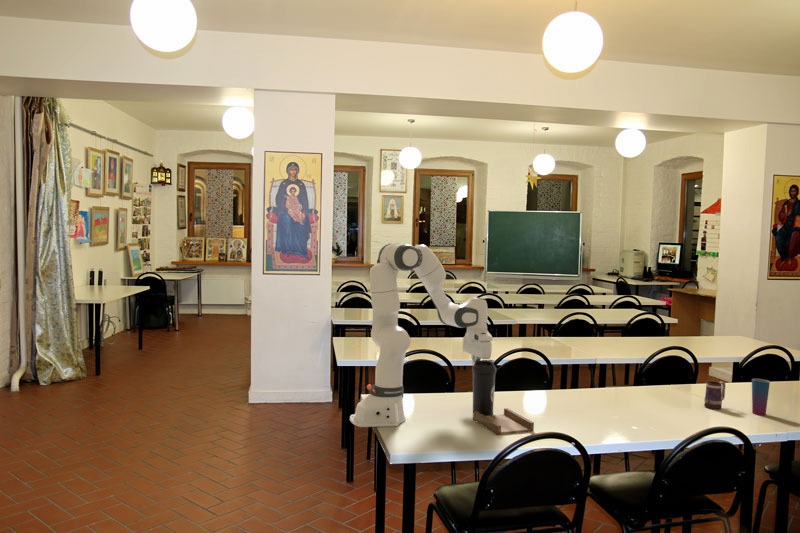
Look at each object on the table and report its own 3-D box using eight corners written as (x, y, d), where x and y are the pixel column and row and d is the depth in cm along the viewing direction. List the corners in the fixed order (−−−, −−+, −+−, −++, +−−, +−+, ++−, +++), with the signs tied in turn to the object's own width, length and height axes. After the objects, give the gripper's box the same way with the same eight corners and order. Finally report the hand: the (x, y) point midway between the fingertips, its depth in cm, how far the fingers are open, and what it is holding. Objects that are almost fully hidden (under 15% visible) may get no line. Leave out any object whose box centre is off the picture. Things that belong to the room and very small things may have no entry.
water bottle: (494, 417, 238) (496, 363, 237) (469, 415, 240) (471, 361, 239) (495, 411, 248) (497, 358, 247) (471, 409, 250) (473, 356, 249)
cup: (766, 412, 256) (768, 379, 256) (769, 416, 250) (771, 383, 250) (749, 410, 259) (750, 378, 259) (751, 414, 253) (752, 381, 252)
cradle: (497, 435, 216) (497, 426, 216) (472, 419, 235) (473, 411, 235) (533, 431, 222) (533, 422, 222) (507, 416, 241) (507, 408, 241)
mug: (713, 410, 258) (714, 384, 258) (700, 406, 265) (701, 380, 264) (730, 408, 262) (731, 382, 261) (717, 404, 268) (718, 379, 268)
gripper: (459, 330, 259) (458, 360, 259) (481, 338, 239) (480, 370, 240) (472, 330, 261) (471, 360, 261) (494, 337, 242) (493, 370, 242)
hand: (475, 365), depth 251 cm, fingers closed
